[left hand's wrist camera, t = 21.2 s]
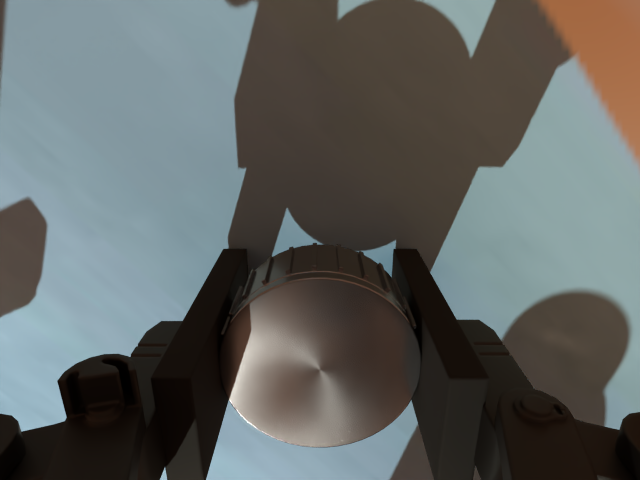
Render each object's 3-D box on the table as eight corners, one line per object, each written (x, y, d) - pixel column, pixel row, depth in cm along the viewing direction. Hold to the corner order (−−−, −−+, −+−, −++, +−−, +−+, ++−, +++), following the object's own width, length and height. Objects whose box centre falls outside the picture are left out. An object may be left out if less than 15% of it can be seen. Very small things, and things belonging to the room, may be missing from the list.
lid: (371, 413, 13) (379, 469, 11) (212, 370, 13) (193, 422, 11) (437, 273, 12) (460, 312, 10) (258, 217, 11) (245, 246, 9)
